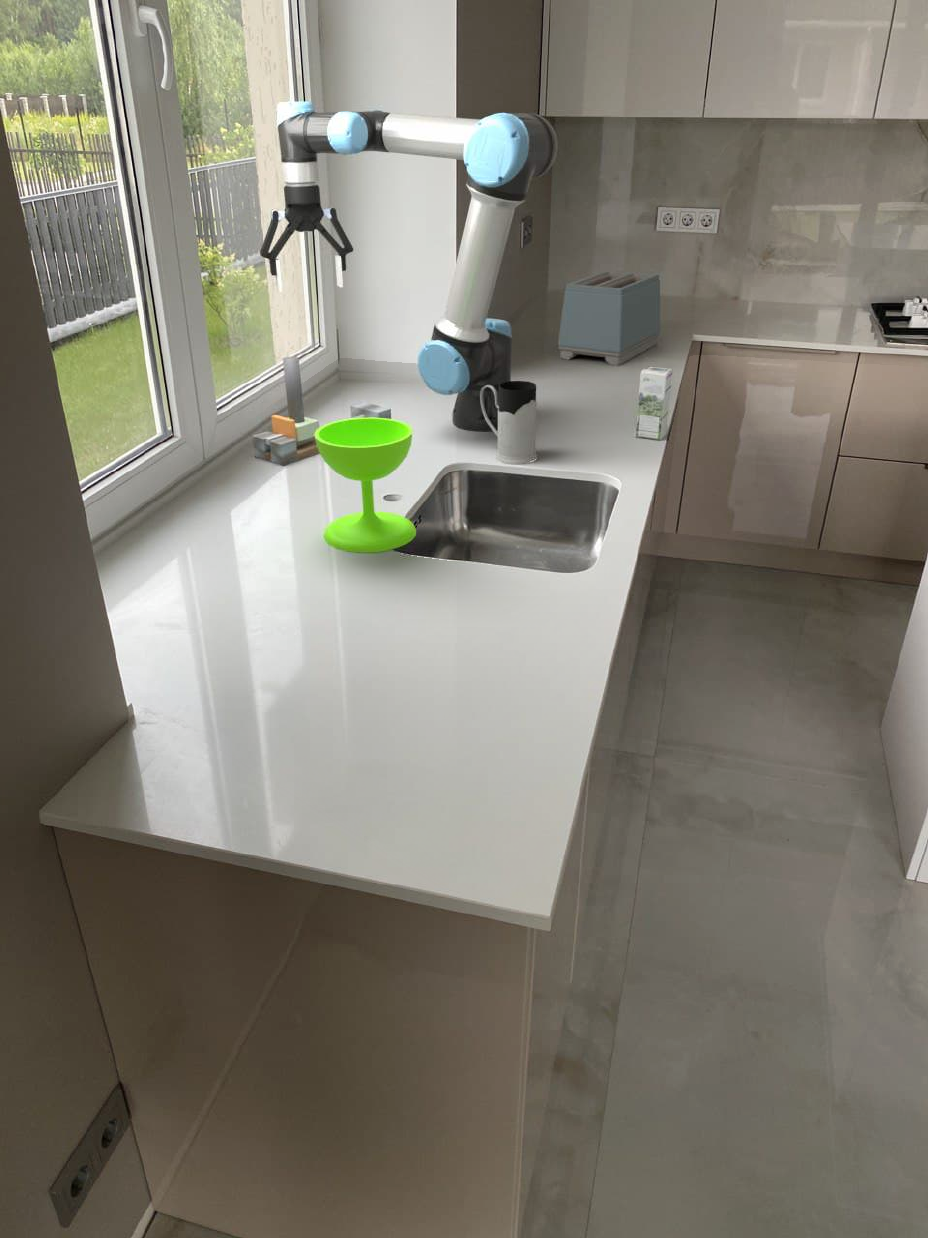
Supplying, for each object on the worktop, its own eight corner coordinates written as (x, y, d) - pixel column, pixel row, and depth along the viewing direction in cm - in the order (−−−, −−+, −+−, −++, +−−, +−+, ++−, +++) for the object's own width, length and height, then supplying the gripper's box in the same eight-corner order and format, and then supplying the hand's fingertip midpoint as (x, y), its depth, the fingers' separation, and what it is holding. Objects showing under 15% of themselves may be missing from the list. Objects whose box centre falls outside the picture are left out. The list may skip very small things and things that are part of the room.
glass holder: (519, 467, 192) (520, 393, 184) (467, 452, 200) (466, 381, 193) (546, 456, 197) (548, 384, 190) (494, 442, 206) (494, 373, 198)
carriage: (320, 434, 201) (313, 358, 193) (298, 441, 197) (290, 363, 189) (298, 428, 205) (290, 353, 197) (276, 435, 201) (268, 358, 193)
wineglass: (312, 524, 167) (303, 424, 158) (398, 509, 173) (393, 412, 164) (338, 559, 154) (330, 453, 146) (430, 542, 160) (427, 439, 151)
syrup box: (667, 433, 210) (673, 367, 203) (660, 441, 205) (666, 374, 198) (642, 430, 212) (647, 365, 205) (634, 437, 207) (639, 371, 200)
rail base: (391, 428, 215) (390, 408, 213) (282, 465, 194) (280, 444, 192) (364, 420, 220) (362, 401, 218) (254, 456, 199) (252, 435, 197)
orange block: (296, 441, 197) (294, 419, 195) (277, 447, 193) (274, 425, 191) (277, 435, 200) (275, 414, 198) (258, 441, 197) (255, 420, 195)
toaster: (664, 342, 288) (670, 271, 278) (619, 367, 262) (624, 290, 252) (605, 336, 296) (610, 267, 286) (556, 359, 270) (559, 284, 261)
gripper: (354, 180, 208) (360, 282, 218) (239, 185, 200) (251, 289, 211) (362, 182, 201) (368, 287, 212) (244, 187, 194) (256, 295, 204)
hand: (310, 288), depth 211 cm, fingers open, 13 cm apart
